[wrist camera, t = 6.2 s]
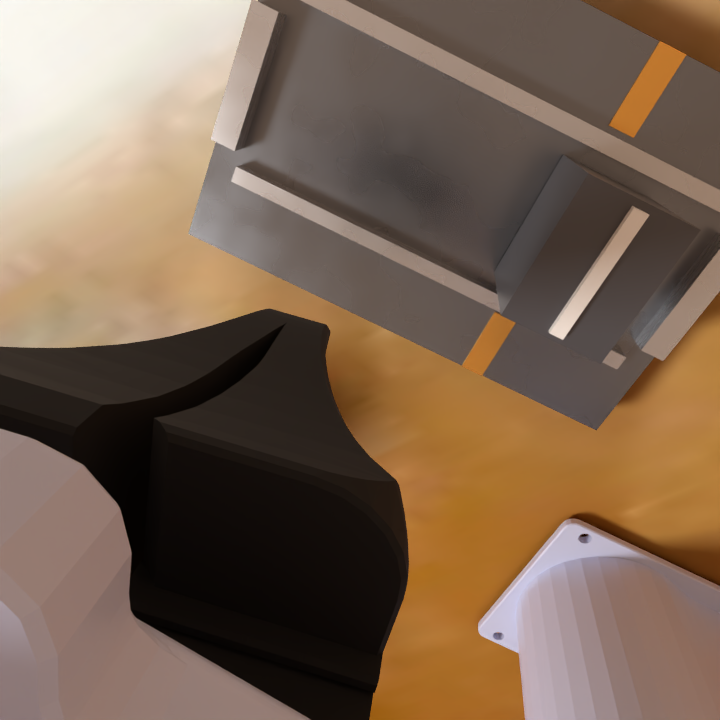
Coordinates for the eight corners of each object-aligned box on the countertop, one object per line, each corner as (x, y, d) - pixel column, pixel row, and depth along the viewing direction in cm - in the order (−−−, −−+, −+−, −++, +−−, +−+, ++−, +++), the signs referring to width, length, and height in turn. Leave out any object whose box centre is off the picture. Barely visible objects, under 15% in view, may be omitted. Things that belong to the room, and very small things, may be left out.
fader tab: (653, 199, 17) (704, 231, 13) (575, 312, 19) (602, 367, 15) (563, 154, 17) (590, 174, 13) (494, 272, 19) (501, 318, 15)
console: (805, 127, 17) (851, 133, 15) (588, 409, 22) (601, 442, 20) (314, -127, 16) (293, -156, 14) (205, 224, 21) (178, 239, 19)
